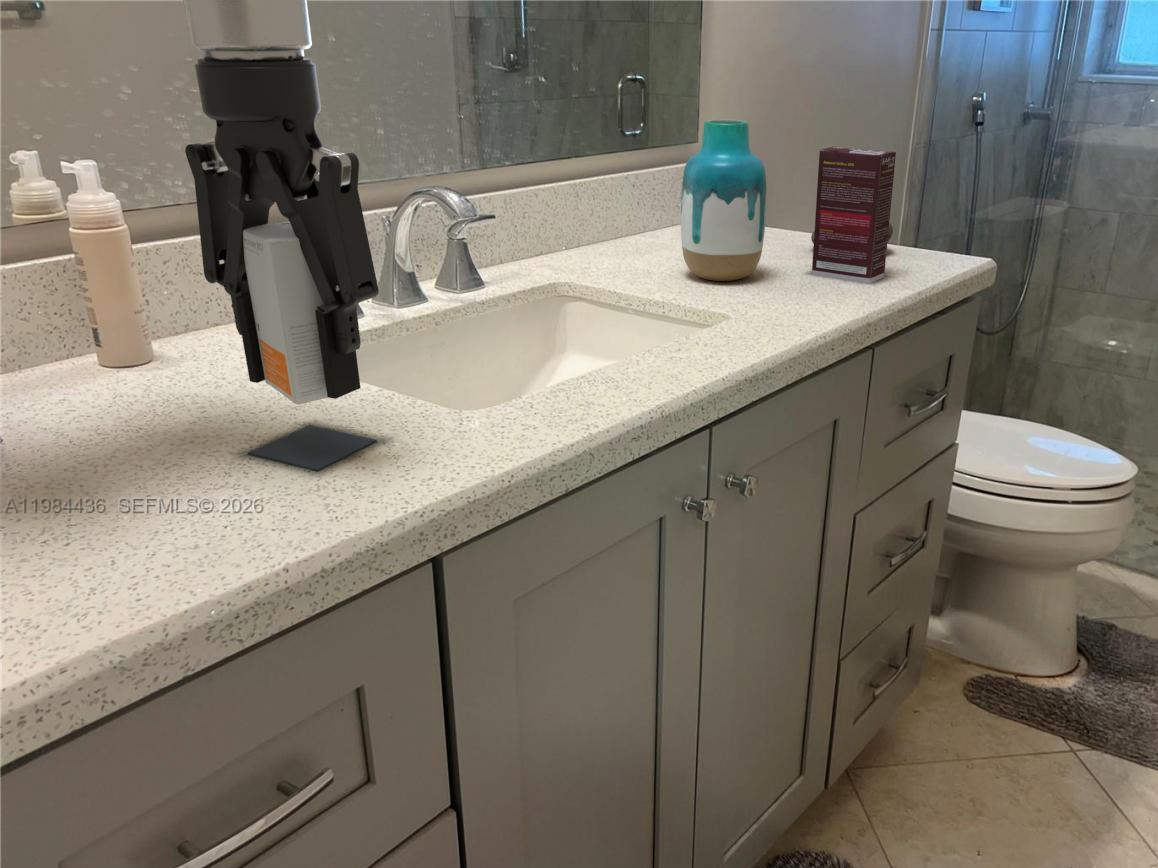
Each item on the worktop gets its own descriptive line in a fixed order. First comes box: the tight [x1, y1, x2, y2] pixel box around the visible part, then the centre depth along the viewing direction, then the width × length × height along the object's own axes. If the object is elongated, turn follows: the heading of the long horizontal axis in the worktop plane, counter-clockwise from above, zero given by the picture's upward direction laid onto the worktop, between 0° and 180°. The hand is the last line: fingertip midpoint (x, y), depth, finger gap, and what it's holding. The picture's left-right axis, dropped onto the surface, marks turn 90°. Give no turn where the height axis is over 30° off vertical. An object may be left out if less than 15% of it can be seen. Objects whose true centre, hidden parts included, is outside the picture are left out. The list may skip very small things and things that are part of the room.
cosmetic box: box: [243, 220, 329, 405], centre depth 76 cm, size 6×4×12 cm
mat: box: [247, 424, 378, 473], centre depth 81 cm, size 7×7×1 cm
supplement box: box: [811, 146, 897, 284], centre depth 132 cm, size 9×5×16 cm, turn 56°
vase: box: [680, 118, 767, 282], centre depth 129 cm, size 11×11×19 cm
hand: (304, 384), depth 79 cm, fingers closed on cosmetic box, 7 cm apart
